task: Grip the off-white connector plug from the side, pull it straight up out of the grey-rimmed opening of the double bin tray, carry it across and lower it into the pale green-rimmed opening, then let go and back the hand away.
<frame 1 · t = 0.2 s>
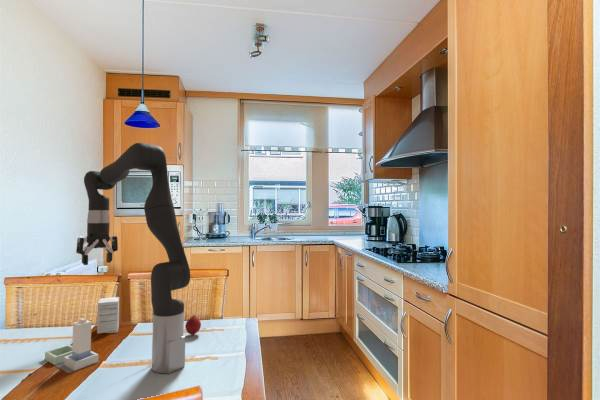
hand: (97, 263, 129), 28 cm above the table, tool pointing down, fingers open, 8 cm apart
onion: (192, 335, 132), on the table
supplement box: (108, 331, 135), on the table
plug: (81, 363, 106), point 1 cm above the table, touching double bin tray
double bin tray: (71, 362, 107), on the table
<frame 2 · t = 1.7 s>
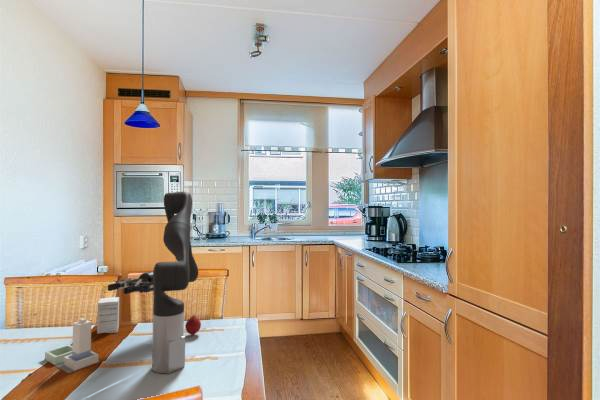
hand: (115, 289, 116), 22 cm above the table, tool horizontal, fingers open, 8 cm apart
nothing on the table moved.
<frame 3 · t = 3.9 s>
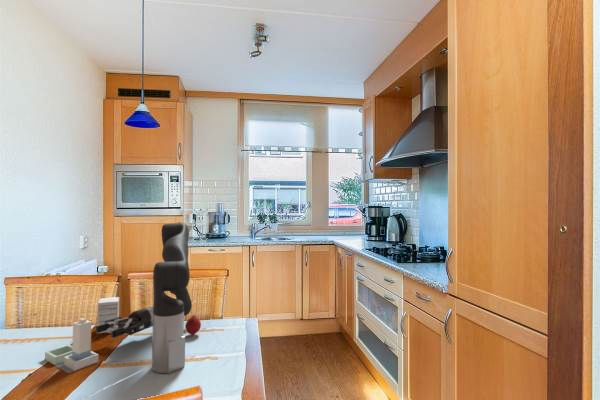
hand: (104, 332, 112), 8 cm above the table, tool horizontal, fingers open, 8 cm apart
nothing on the table moved.
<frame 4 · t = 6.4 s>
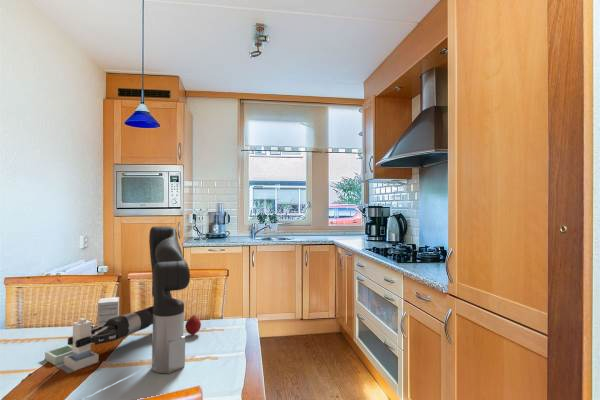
hand: (72, 343, 103), 8 cm above the table, tool horizontal, fingers closed on plug, 3 cm apart
plug: (81, 363, 106), point 1 cm above the table, touching gripper, double bin tray
everything else where it was.
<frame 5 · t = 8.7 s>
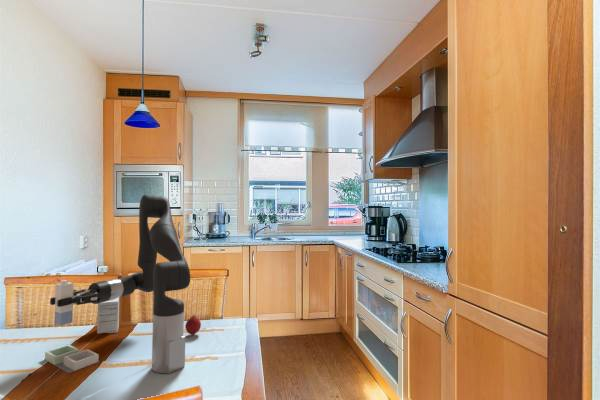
hand: (54, 302, 107), 19 cm above the table, tool horizontal, fingers closed on plug, 3 cm apart
plug: (63, 322, 110), point 12 cm above the table, touching gripper
everything else where it was.
when the fingers open (9 cm above the table, at t = 11.3 s): plug stays where it is, resting on double bin tray.
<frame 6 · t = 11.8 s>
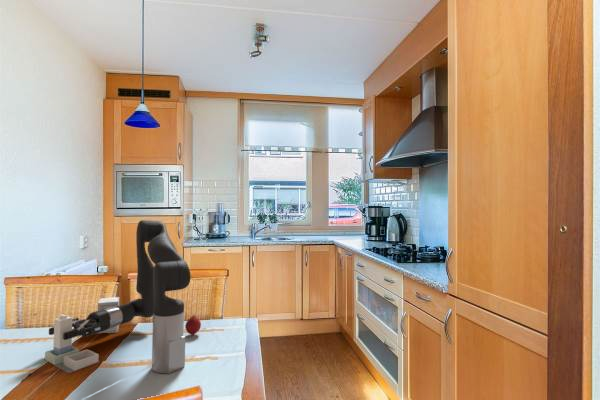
hand: (56, 334, 108), 9 cm above the table, tool horizontal, fingers open, 8 cm apart
plug: (62, 357, 109), point 1 cm above the table, touching double bin tray
everything else where it was.
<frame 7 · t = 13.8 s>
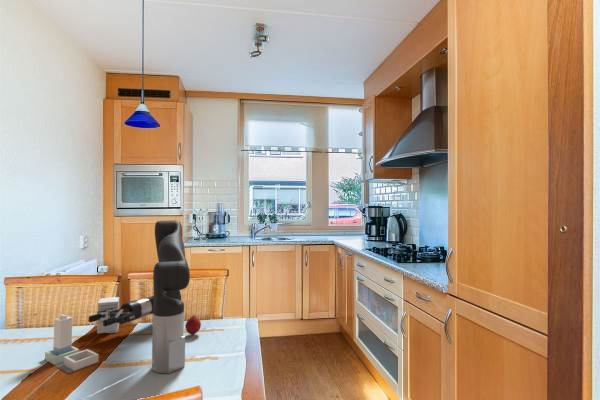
hand: (96, 321, 119), 9 cm above the table, tool horizontal, fingers open, 8 cm apart
nothing on the table moved.
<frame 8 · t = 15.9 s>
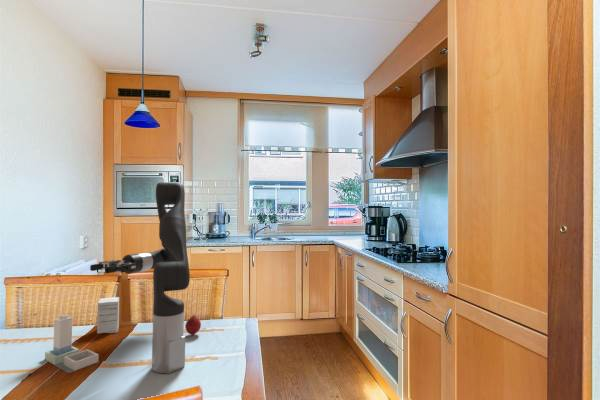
hand: (98, 269, 120), 28 cm above the table, tool horizontal, fingers open, 8 cm apart
nothing on the table moved.
at the end: plug 0.1 cm from the target spot on the double bin tray, point 0.6 cm above the double bin tray's base; plug tilted 0°; the gripper is holding nothing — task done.
